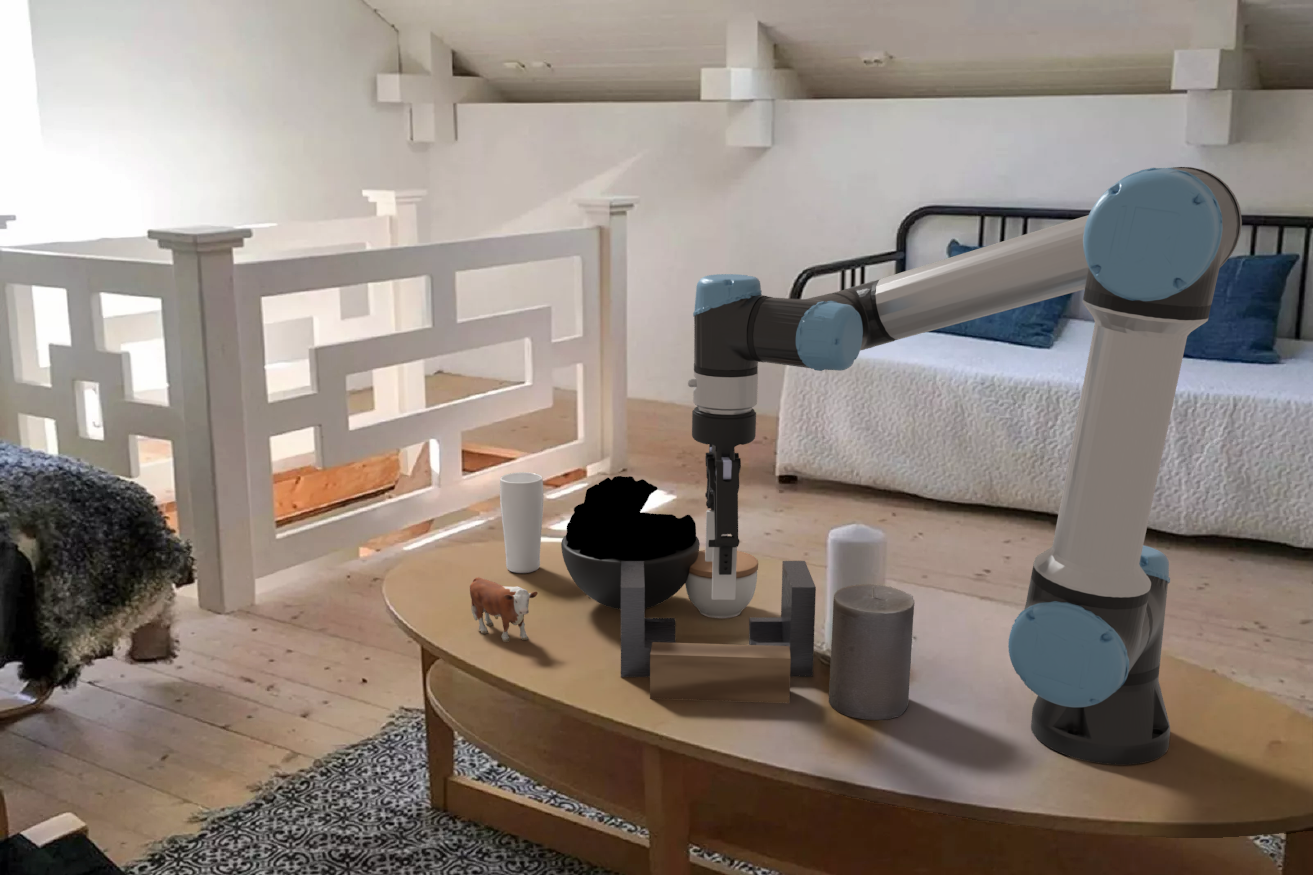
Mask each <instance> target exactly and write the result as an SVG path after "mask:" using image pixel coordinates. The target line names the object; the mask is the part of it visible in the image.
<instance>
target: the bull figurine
mask: <svg viewBox="0 0 1313 875" xmlns="http://www.w3.org/2000/svg"><path fill="white" fill-rule="evenodd" d="M469 594H470V599H471V600H470V601H471V605H470V606H471V614H472V616H473V618H474V620H475V621H476V622H477V621H478V625H479V627H478V630H479V631H480V634H481V635H482V634H484V635H485V634H488V633H489V631H488V628H487V626H490V627H491V626H493V625H494V622H493V621H492V619H491V617H490V616H492V617H494V619H495V620H498V619H499V618H501V622H502V628H503V632H502V634H501V636H500V637H501V638H502V642H505V643H508V642H510V636H509V633H508V631H509V629H510V623H511V625H513V626H517V627H518V628H519V636H520V637H521V638H520V639H521V640H522V641H528V640H529V636H528V635H527V632H526V629H525V627H526V626H525V625H526V624H525V621H524V618H525V616H524V615H528V614H529V612H530V611H529V603H530V599H533V598H535V597H536V596H537V595H538V591H535V590H534V591H531V592H528V590H527V589H525V588H522V587H520V586H505V585H502V584H500V583H497V582H495V581H492V580H489V579H485V578H482V577H480V576H478V577H474V578H473V580H472V582H471V584H470V585H469ZM484 621H485V622H484ZM485 623H486V624H485ZM486 625H487V626H486Z"/></svg>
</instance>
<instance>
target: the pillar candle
mask: <svg viewBox="0 0 1313 875" xmlns="http://www.w3.org/2000/svg"><path fill="white" fill-rule="evenodd" d="M832 601H833V603H832V624H831V625H832V626H831V628H832V630H831V649H830V662H829V663H830V666H829V684H828V690H829V691H828V703H829V705H830V706H831V707H832V709H834V710H835V711H837V712H839V713H840V714H841V715H844V716H847V717H850V718H855V719H859V720H867V721H882V720H883V721H884V720H890V719H894V718H898V717H900V716H901V715H903V713H904V712H905V711H906V710H907V708H908V705H909V696H910V682H911V680H910V676H911V667H912V666H911V665H912V664H911V663H912V650H913V648H912V645H913V629H914V613H915V599H914V596H913V595H912V594H911V593H907V591H903V590H902V589H899V588H896V587H892V586H888V585H887V586H886V585H883V584H871V583H868V584H867V583H865V584H854V585H852V584H851V585H848V586H845V587H842V588H840V589H837V591H836V592H835V593H834V594H833V600H832Z"/></svg>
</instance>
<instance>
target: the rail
mask: <svg viewBox="0 0 1313 875" xmlns="http://www.w3.org/2000/svg"><path fill="white" fill-rule="evenodd" d="M790 664H791V657H790V646H767V645H749V644H731V643H729V644H728V643H727V644H726V643H723V644H722V643H696V642H695V643H690V642H676V643H665V642H652V647H651V653H650V677H649V699H650V700H669V701H671V700H673V701H674V700H676V701H705V702H707V701H709V702H737V703H738V702H740V703H741V702H742V703H765V704H766V703H773V704H775V703H776V704H790V697H791V696H790V695H791V694H790V692H791V691H790V689H791V677H790Z"/></svg>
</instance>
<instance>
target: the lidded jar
mask: <svg viewBox="0 0 1313 875" xmlns="http://www.w3.org/2000/svg"><path fill="white" fill-rule="evenodd" d="M712 568H713V562H711V561H705V549H704V550H699V553H698V558H697V560H696V561H695V563H694V564H693V565H691V566H690V569H689V575H688V577H687V580H686V583H685V584H684V585H685V586H684V587H685V590H686V594H687V596H688V599H689V600H690V602H691V603H692V605H693V606H694V607H695V608H696V609H697V610H698V612H699V613H700V614H701V615H702V616H704V617H707V618H711V619H712V618H713V619H721V620H722V619H731V618H735V617H738V616H739V615H741V613H742V611H743V610H744V609H745V608H746V607H748V605H749V604H750V603H751V601H752V600H753V598H754V595H755V593H756V592H755V591H756V588H757V582H758V570H759V560H758V559H757V558H756V556H754V555H752V554H750V553H747V552H744V551H742V550H741V551H740V550H737V563H736V596H735V600H718V599H712Z"/></svg>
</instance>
